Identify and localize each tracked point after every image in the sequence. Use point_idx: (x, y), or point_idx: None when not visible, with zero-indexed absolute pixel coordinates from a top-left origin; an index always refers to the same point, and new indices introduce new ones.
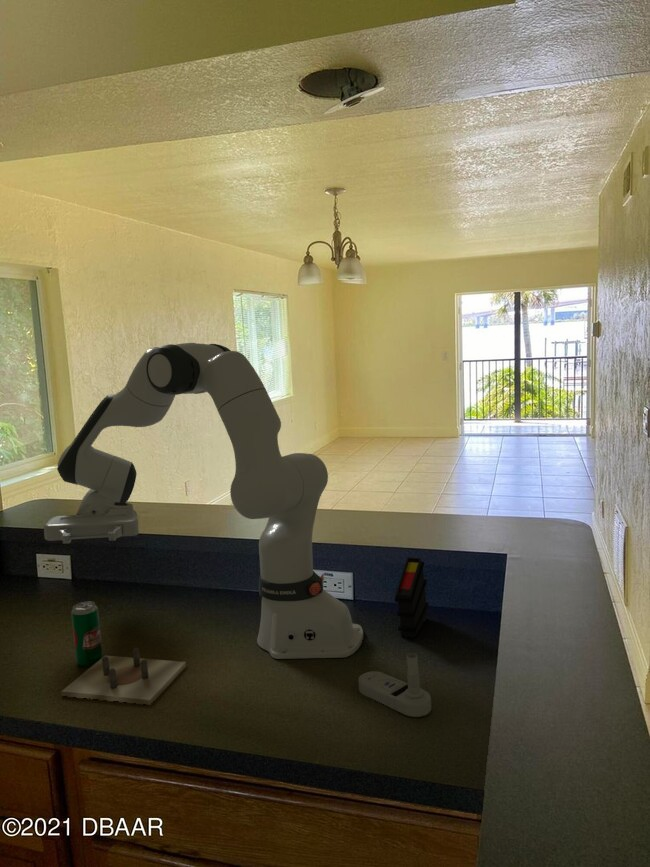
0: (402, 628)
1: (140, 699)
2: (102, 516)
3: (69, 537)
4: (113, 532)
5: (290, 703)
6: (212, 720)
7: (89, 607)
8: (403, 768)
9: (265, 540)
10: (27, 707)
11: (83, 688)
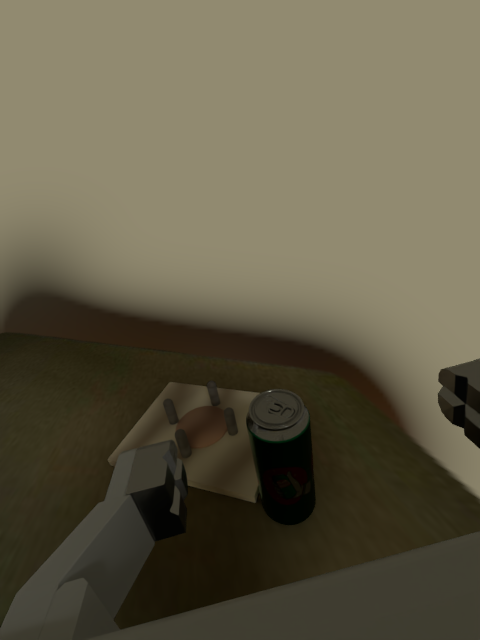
0: None
1: (180, 383)
2: None
3: (439, 373)
4: (132, 458)
5: (34, 389)
6: (115, 369)
7: (258, 401)
8: (22, 338)
9: None
10: (322, 384)
11: None
